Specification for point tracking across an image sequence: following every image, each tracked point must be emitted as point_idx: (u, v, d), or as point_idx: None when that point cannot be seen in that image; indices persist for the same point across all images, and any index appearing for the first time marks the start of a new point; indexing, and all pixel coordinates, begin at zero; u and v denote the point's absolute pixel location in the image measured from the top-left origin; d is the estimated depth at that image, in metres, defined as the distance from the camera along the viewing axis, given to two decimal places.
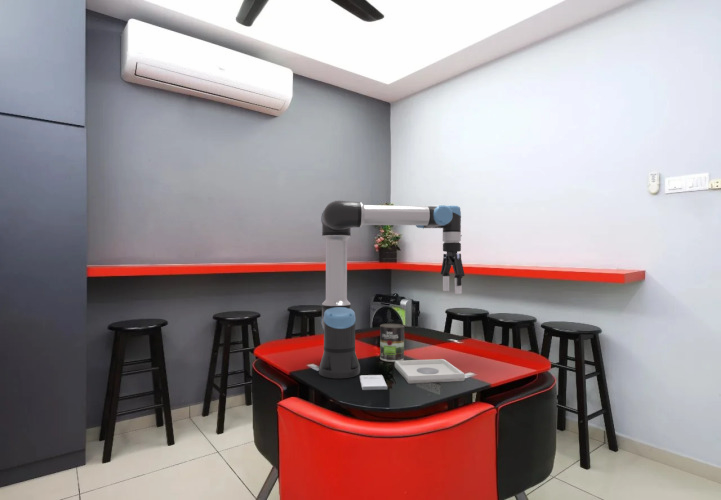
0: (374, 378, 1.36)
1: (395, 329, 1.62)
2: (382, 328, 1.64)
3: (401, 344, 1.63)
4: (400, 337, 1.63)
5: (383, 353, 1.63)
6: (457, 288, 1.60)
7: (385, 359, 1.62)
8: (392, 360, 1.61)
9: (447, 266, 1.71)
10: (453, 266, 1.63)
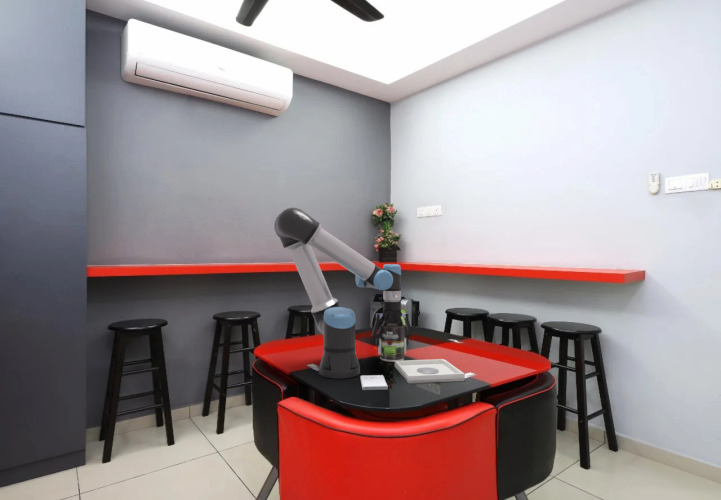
0: (374, 378, 1.36)
1: (395, 329, 1.62)
2: (382, 328, 1.64)
3: (401, 344, 1.63)
4: (400, 337, 1.63)
5: (383, 353, 1.63)
6: (378, 348, 1.66)
7: (385, 359, 1.62)
8: (392, 360, 1.61)
9: None
10: (382, 325, 1.67)
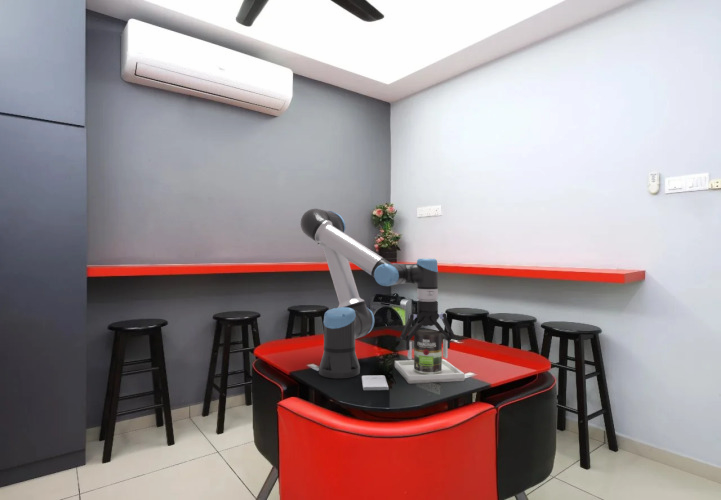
0: (376, 378, 1.36)
1: (432, 336, 1.40)
2: (417, 335, 1.43)
3: (439, 354, 1.42)
4: (437, 346, 1.41)
5: (418, 364, 1.42)
6: (408, 352, 1.45)
7: (421, 371, 1.41)
8: (429, 372, 1.40)
9: (437, 327, 1.46)
10: None
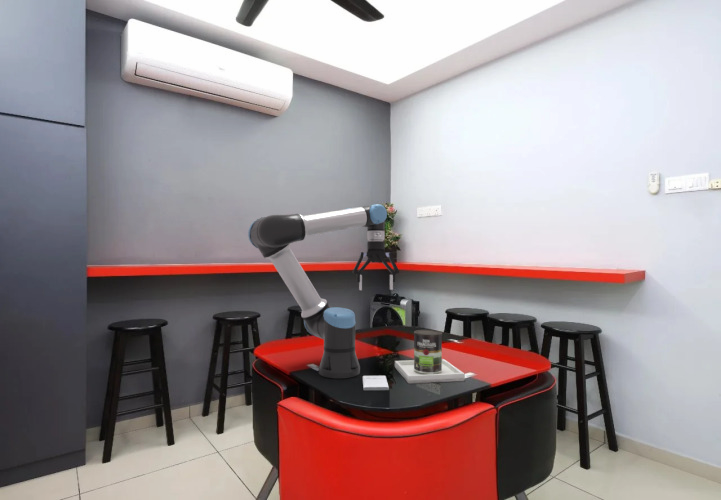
0: (376, 378, 1.36)
1: (432, 336, 1.40)
2: (417, 335, 1.43)
3: (439, 354, 1.42)
4: (437, 346, 1.41)
5: (418, 364, 1.42)
6: (359, 284, 1.71)
7: (421, 371, 1.41)
8: (429, 372, 1.40)
9: (384, 264, 1.72)
10: (364, 264, 1.72)
